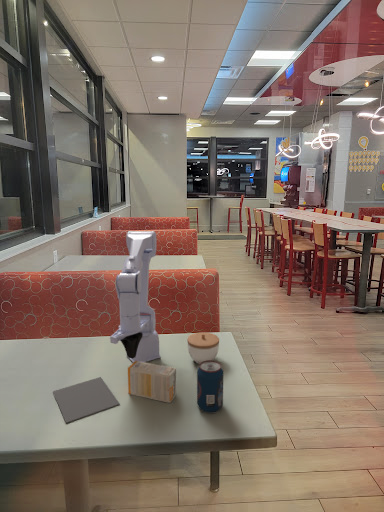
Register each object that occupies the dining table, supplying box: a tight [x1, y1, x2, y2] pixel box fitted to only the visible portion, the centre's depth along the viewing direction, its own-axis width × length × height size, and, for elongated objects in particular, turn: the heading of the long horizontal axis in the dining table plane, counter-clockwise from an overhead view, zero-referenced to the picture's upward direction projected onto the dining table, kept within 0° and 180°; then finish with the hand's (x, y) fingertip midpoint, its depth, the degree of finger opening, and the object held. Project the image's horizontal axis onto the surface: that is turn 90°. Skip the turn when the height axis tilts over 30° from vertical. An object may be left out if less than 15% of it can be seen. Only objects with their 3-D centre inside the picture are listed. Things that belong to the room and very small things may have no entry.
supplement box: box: [127, 361, 177, 404], centre depth 97 cm, size 8×5×13 cm
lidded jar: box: [186, 331, 220, 365], centre depth 116 cm, size 11×11×9 cm
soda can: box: [196, 359, 224, 414], centre depth 91 cm, size 7×7×12 cm
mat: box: [52, 376, 121, 424], centre depth 95 cm, size 14×16×1 cm
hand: (131, 357), depth 101 cm, fingers closed
